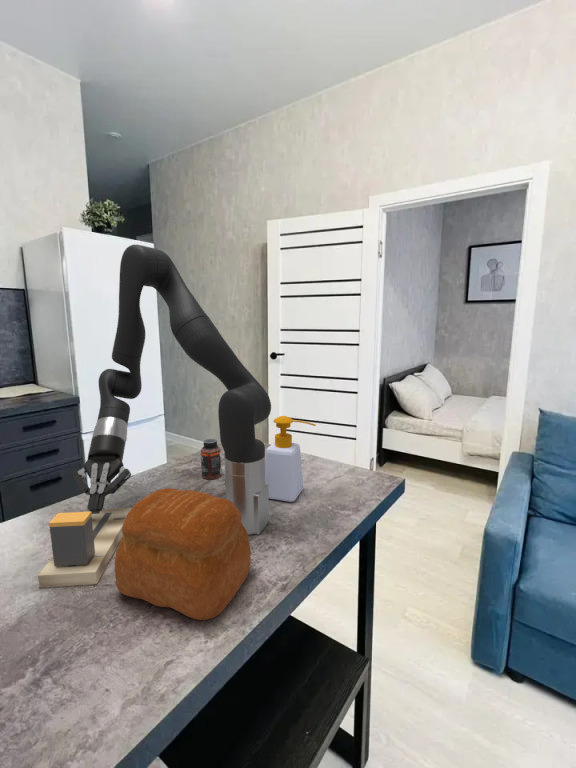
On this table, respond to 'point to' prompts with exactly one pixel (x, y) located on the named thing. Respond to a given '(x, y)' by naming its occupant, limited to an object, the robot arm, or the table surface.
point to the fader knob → (72, 538)
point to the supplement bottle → (211, 459)
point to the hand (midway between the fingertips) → (94, 512)
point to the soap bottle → (284, 464)
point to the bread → (183, 552)
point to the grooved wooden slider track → (105, 544)
